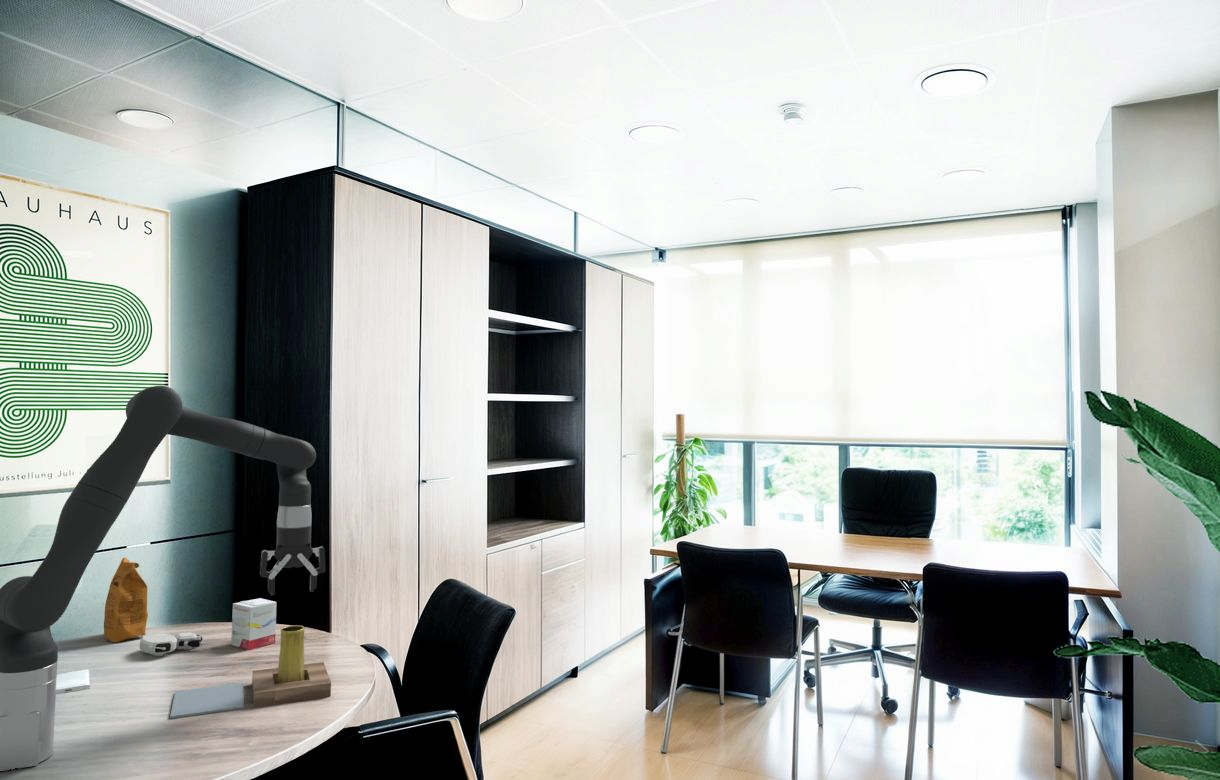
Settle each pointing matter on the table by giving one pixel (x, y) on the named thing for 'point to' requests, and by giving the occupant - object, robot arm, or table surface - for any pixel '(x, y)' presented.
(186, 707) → the mat
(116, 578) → the coffee package
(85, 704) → the table surface
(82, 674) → the hard drive
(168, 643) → the robot toy
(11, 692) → the robot arm
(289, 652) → the vase
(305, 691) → the pocket block
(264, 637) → the ink box
